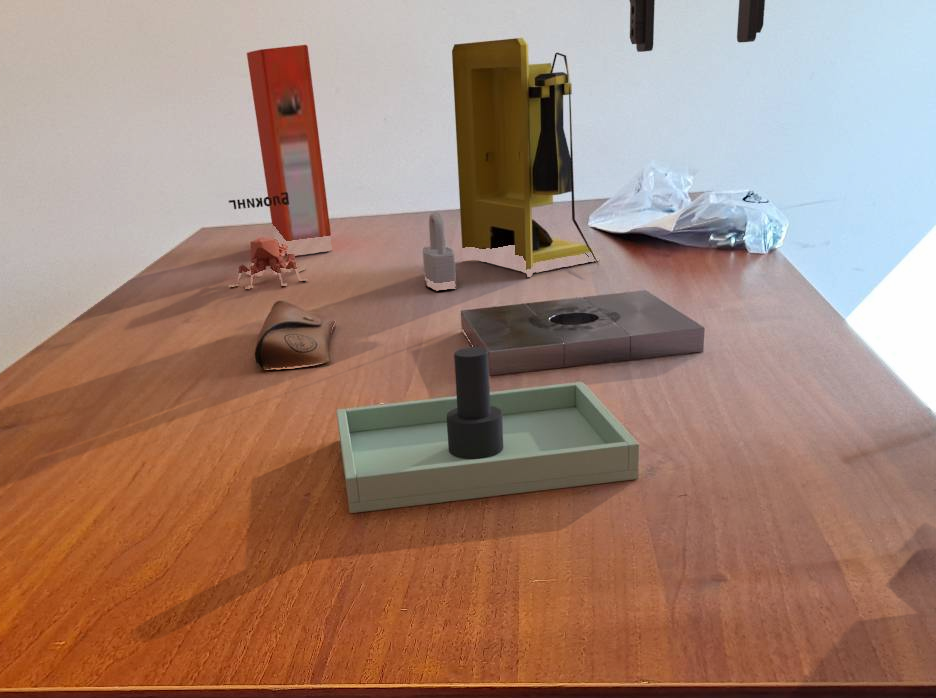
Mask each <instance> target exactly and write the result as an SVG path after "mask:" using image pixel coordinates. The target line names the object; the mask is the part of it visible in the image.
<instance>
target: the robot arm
mask: <svg viewBox="0 0 936 698" xmlns="http://www.w3.org/2000/svg"><path fill="white" fill-rule="evenodd" d="M628 1H629V4H630V5H629V7H630V8H629V39H630V43H631V45H636V46H635V47H636V51H637V53H643V52H644V53H645V52H652V51H653V50H654V49H653V48H654V38H655V36H654V33H655V1H656V0H628ZM765 7H766V0H738V12H737V13H738V15H737V30H736V39H737V43H752V42H755V40H756V39H757V34H760V33H762V29H763V27H764V19H765V18H764V17H765Z"/></svg>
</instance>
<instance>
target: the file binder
mask: <svg viewBox="0 0 936 698" xmlns="http://www.w3.org/2000/svg"><path fill="white" fill-rule="evenodd" d="M246 58H247V59H246V60H247V66H248V72H249V78H250V85H251V91H252V98H253V106H254V112H255V118H256V125H257V132H258V139H259V143H260V144H259V146H260V152H261V153H260V154H261V159H262V160H261V161H262V166H263V172H264V180H265V187H266V193H267V197H270V198H271V200H272V205H271V206H269V212H270V219H271V225H272V224H273V226H275V227H276V229H277V230H278V231H279V233H280V234H281V235H282V236H283V238H284V239H285V240H286V241H292V240H299V239H307V238H315V237H323V236H330V235H331V236H332V233H331V225H330V217H329V209H328V202H327V191H326V185H325V177H324V169H323V168H324V167H323V159H322V153H321V152H322V151H321V144H320V136H319V127H318V119H317V111H316V103H315V95H314V87H313V78H312V71H311V62H310V54H309V46H308V45H307V44H300V45H299V44H298V45H290V46H280V47H271V48H263V49H257V50H252V51H249V52H246ZM284 192H288V199H289V205H284V204H283V203H282V202H281V200H282V198H283V197H286V195H281V193H284ZM274 196H279V199H280V202H281V203H282V205H280V204H278V201H277V198H275V200H276V206H274V202H273V197H274ZM284 202H286V200H284Z"/></svg>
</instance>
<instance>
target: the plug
mask: <svg viewBox="0 0 936 698" xmlns="http://www.w3.org/2000/svg"><path fill="white" fill-rule="evenodd" d="M453 358H454V374H455V378H454V379H455V393H456V396H457V408H455V409H453V410H451V411H449V412H448V413H447V416H446V417H447V433H448V448H449V452H450V454H451V455H453V456H455V457H458V458H463V459H482V458H488V457H491V456H494V455H497V454H498V453H500V452H501V451H502V450H503V423H502V411H501V410H500V409H499V408H497V407H494V406H490V392H491V390H490V389H491V388H490V375H489V364H488V351H487V350H486V349H484V348H477V347H472V346H471V347H464V348H460V349H457V350H455V351H454V353H453Z"/></svg>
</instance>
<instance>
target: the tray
mask: <svg viewBox="0 0 936 698" xmlns="http://www.w3.org/2000/svg"><path fill="white" fill-rule="evenodd" d="M490 406H494V407H497V408H499V409H500V410H501V411H502V423H503V450H502V451H501V452H500V453H498V454H497V455H494V456H491V457H488V458H482V459H463V458H458V457H455V456H453V455H451V454H450V452H449V448H448V433H447V417H446V416H447V413H448V412H449V411H451V410H453V409H455V408H457V395H453V396H443V397H435V398H426V399H418V400H410V401H402V402H392V403H384V404H375V405H374V404H373V405H366V406H364V405H363V406H356V407H348V408H340V409H336V419H337V427H338V428H337V429H338V437H339V444H340V450H341V451H340V452H341V458H342V459H341V460H342V466H343V474H344V483H345V489H346V496H347V497H346V498H347V503H348V512H349V514H357V513H365V512H374V511H380V510H389V509H390V510H391V509H397V508H398V509H399V508H406V507H415V506H422V505H432V504H439V503H440V504H441V503H448V502H449V503H450V502H455V501H465V500H472V499H473V500H475V499H482V498H491V497H497V496H498V497H499V496H507V495H514V494H515V495H516V494H522V493H530V492H531V493H532V492H540V491H541V492H542V491H549V490H557V489H564V488H565V489H566V488H574V487H582V486H590V485H591V486H592V485H599V484H607V483H608V484H609V483H613V482H614V483H615V482H616V483H617V482H623V481H631V480H638V479H639V468H640V467H639V466H640V465H639V464H640V463H639V462H640V460H639V459H640V443H639V442H638V441H637V440H636V439H635V438H634V437H633V436H632V435H631V434H630V432H629V431H628V430H627V429H626V428H625V427H624V426H623V424H622V423H620V422H619V420H618V419H617V418H616V417H615V416H614V414H612V413H611V412H610V411H609V409H608V408H607V407H606V405H604V404H603V403H602V402H601V401H600V400H599V399H598V397H596V395H595V394H594V393H593V392H592V391H591V390H590V389H589V387H588V386H587V385H586V384H585V383H584V382H583V381H574V382H566V383H559V384H550V385H542V386H541V385H540V386H531V387H524V388H523V387H522V388H514V389H506V390H505V389H504V390H499V391H497V390H496V391H490Z"/></svg>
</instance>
